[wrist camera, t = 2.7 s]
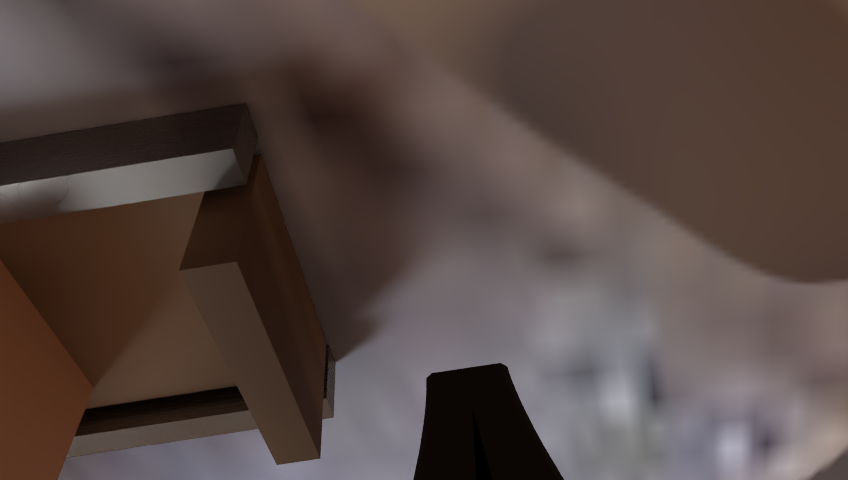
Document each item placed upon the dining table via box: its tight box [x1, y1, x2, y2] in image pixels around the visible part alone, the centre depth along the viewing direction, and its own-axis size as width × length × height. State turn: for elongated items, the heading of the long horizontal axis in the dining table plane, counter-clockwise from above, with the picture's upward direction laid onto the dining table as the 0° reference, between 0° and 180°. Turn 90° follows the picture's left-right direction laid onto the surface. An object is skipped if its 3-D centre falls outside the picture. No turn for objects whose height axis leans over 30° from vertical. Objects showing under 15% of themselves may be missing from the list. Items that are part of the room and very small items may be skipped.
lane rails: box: [0, 103, 335, 458], centre depth 15 cm, size 14×8×2 cm, turn 98°
